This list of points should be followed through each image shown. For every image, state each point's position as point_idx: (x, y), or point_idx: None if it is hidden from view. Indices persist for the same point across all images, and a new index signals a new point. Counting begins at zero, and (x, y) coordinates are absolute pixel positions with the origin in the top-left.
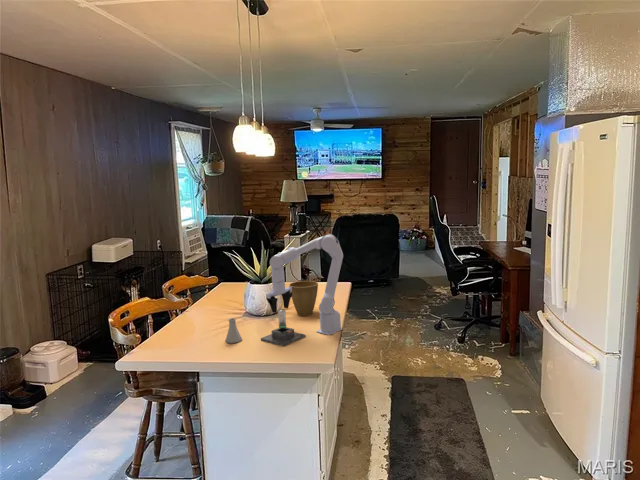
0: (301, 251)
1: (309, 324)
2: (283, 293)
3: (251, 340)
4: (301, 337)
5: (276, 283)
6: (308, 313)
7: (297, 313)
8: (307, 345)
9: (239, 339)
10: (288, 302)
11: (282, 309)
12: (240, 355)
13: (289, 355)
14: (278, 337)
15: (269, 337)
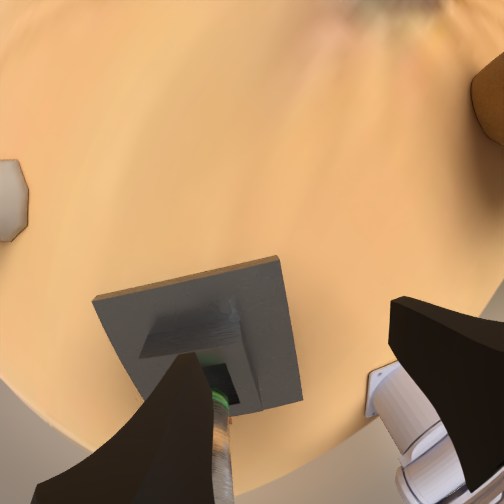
0: None
1: (434, 254)
2: (471, 499)
3: (59, 258)
4: (273, 403)
5: None
6: (498, 142)
7: (474, 84)
8: (242, 447)
9: (9, 235)
10: (433, 392)
11: (222, 498)
12: (15, 364)
13: None
14: None
15: (134, 327)
